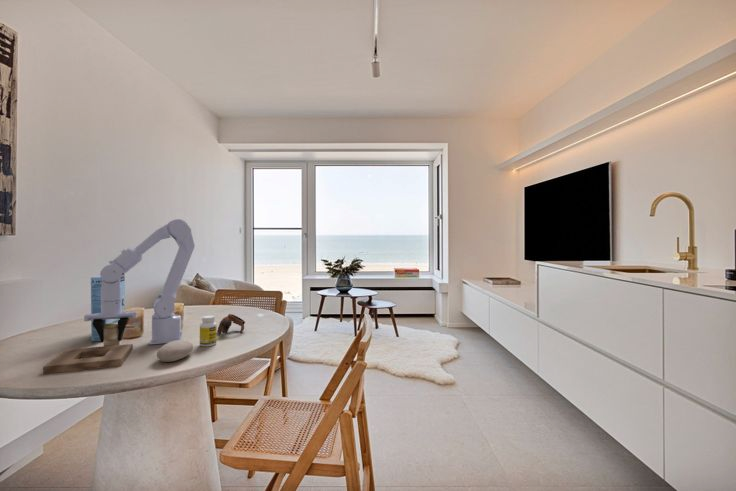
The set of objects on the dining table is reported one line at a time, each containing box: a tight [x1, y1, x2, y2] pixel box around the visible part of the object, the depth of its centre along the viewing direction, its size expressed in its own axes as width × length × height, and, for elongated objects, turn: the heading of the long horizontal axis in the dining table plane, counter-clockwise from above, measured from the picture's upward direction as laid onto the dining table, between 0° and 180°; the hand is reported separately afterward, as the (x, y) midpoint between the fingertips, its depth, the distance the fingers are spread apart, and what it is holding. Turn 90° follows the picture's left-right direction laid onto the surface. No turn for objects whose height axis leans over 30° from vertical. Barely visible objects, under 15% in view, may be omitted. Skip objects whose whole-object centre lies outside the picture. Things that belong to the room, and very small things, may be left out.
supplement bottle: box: [199, 315, 218, 347], centre depth 128 cm, size 5×5×10 cm
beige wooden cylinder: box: [103, 323, 120, 346], centre depth 123 cm, size 4×4×8 cm
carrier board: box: [42, 343, 134, 375], centre depth 111 cm, size 18×16×2 cm
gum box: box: [90, 273, 126, 342], centre depth 140 cm, size 20×5×23 cm, turn 16°
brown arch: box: [217, 313, 246, 335], centre depth 143 cm, size 12×10×8 cm
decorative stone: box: [156, 339, 194, 363], centre depth 114 cm, size 13×9×5 cm
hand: (111, 340), depth 123 cm, fingers closed on beige wooden cylinder, 4 cm apart
